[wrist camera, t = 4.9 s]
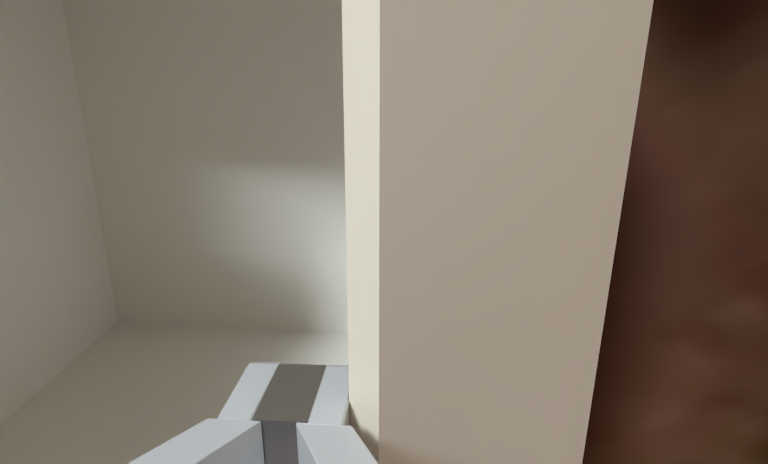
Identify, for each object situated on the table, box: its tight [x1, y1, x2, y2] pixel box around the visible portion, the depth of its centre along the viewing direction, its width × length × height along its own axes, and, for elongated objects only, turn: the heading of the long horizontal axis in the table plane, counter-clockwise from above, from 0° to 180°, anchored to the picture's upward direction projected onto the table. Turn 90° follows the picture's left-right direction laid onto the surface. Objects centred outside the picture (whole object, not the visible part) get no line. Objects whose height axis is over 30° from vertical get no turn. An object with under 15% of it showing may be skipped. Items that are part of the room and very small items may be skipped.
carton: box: [0, 0, 348, 464], centre depth 21 cm, size 20×22×14 cm
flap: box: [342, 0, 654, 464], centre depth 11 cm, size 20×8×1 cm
